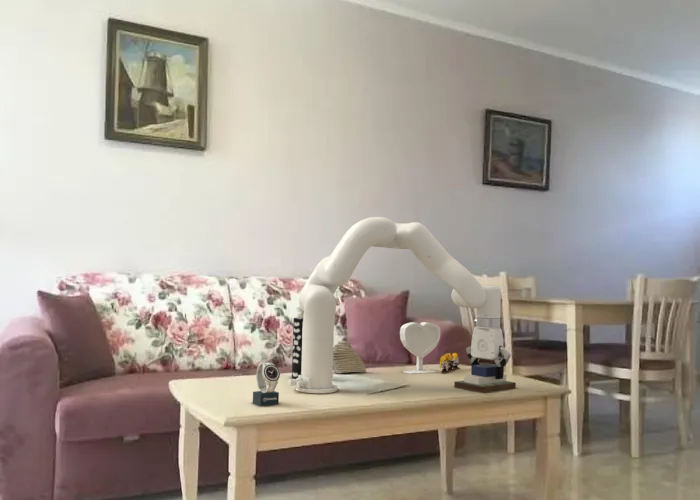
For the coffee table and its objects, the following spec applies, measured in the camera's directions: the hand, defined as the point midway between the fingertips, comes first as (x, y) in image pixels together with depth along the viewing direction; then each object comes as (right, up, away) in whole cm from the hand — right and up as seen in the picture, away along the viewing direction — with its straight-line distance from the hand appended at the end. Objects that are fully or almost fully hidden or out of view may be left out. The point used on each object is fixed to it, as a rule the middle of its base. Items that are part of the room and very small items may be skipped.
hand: (487, 376), depth 218 cm
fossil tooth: (-46, -3, +23) cm, 51 cm away
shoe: (-1, -1, -1) cm, 2 cm away
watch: (-67, -1, -35) cm, 76 cm away
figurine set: (-7, -4, +35) cm, 36 cm away
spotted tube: (-60, -2, +9) cm, 60 cm away
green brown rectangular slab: (-1, -3, -1) cm, 3 cm away
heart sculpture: (-19, -4, +30) cm, 36 cm away
